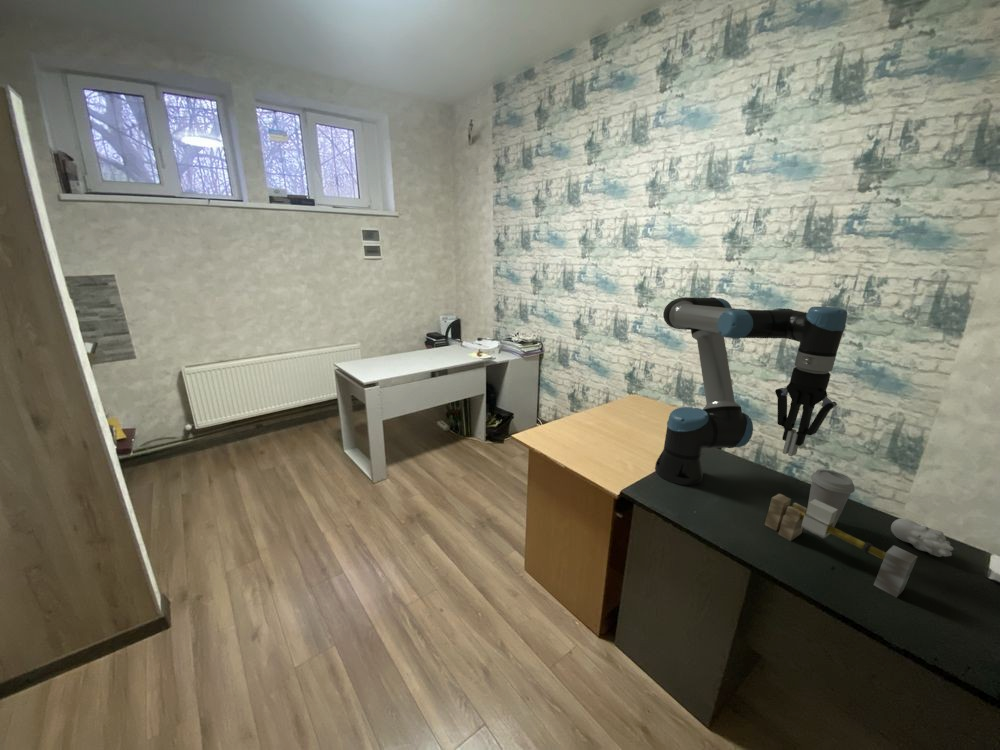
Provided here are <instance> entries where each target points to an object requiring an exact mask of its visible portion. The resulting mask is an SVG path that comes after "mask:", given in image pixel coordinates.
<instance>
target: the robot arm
mask: <svg viewBox="0 0 1000 750" xmlns="http://www.w3.org/2000/svg"><path fill="white" fill-rule="evenodd" d="M662 315H663V321H664V322H665V324H666V325H668V327H670V328H672V329H675V330H676V329H677V330H685V331H687V330H688V331H689V330H690V333H691V338H693V339H694V340H696V342H697V347H698V348H697V350H698V356H699V362H700V368H701V375H702V382H703V390H704V396H705V402H706V404H705V406H704V407H703V408H698V407H693V406H684V407H678V408H675V409H673V410H672V411H671V412H670V413H669V416H668V420H667V422H666V426H667V427H666V432H665V439H664V445H663V449H662V451H661V453H660V454H659V456H658V458H657V460H656V462H655V466H654V470H655V472H656V474H657V475H658V476H659V477H661V479H664V480H666V481H668V482H670V483H673V484H677V485H680V486H681V485H683V486H695V485H698V484H700V483H701V482H702V481H703V476H704V471H703V465H702V459H701V456H702V451H703V449H722V448H723V449H733V448H742V447H745V446H746V445H747V444H748V443H749V442H750V440H751V439H752V437H753V432H754V425H753V420H752V418H751V417H750V416H749V415H748V414H747V413H745V412H743V411H742V406H741V405H740V404H738V403H737V402H736V401H735V395H734V390H733V389H734V388H733V384H732V377H731V370H730V366H729V365H730V364H729V359H728V353H727V347H726V340H725V338H728V339H735V340H736V339H737V340H739V339H784V340H785V339H786V340H791V341H795V342H798V343H799V346H798V348H797V354H796V356H795V357H796V358H795V362H794V366H795V367H794V368H793V369H792V372H791V376H790V382H789V383H788V384H787V385H786V387H780V388H777V389H775V391H774V392H775V394H776V398H777V418H776V419H777V422H776V423H777V425H779V426H781V427H782V428H783V429H784V430H783V433H782V437H781V439H782V441H785V442H784V446H783V448H782V449H783V450H782V454H784V455H787V456H789V457H793V456H795V455H797V452H798V449H799V447H801V446H803V445H804V443H805V439H806V437H807V436H813V435H814V434H816V433H817V432H818V431H819V429H820V427H821V426H822V425H823V422H824V421H825V419H826V417H827V415H828V414H829V413H830V411H831V410H833V409H835V407H836V406H837V405H838V403H837V402H835V401H832V400H831V399H830V398H828V392H827V389H828V386H829V382H830V378H831V372H832V371H833V369H834V364H835V362H836V358H837V355H838V350H839V346H840V343H841V340H842V336H843V334H844V331H845V330H846V323H847V318H848V312H847V310H845V309H844V308H841V307H840V308H839V307H831V306H818V305H817V306H811V307H809V309H808V310H807V312H805V311H802V310H801V311H800V310H795V309H792V308H782V307H781V308H775V309H743V308H733V307H732V305H731V304H730V302H728V301H727V300H726V299H724V298H720V297H718V298H717V297H713V296H711V297H688V296H687V297H685V296H684V297H679V298H676V299H673V300H671V301H670V302H668V304H666V306H665V307H664V310H663V314H662ZM788 395H789V397H790V398H791V402H790V405H789V406H790V408H789V411H788ZM821 402H822V404H821V408H820V409H819V411H818V412H817V414H816V416H815V418H814V419H813V421H812V422H811V419H812V416H813V411H814V408H815V407H816V405H818V404H819V403H821ZM801 406H802V412H801V413H802V414H801V417H800V421H799V426H798V430H797V429H795V428H796V426H795V425H796V421H797V418H798V415H799V412H800V410H801V409H800V408H801Z"/></svg>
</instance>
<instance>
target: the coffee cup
mask: <svg viewBox="0 0 1000 750" xmlns="http://www.w3.org/2000/svg"><path fill="white" fill-rule="evenodd" d="M810 479H811V484H810V489H809V496H808V497H809V498H808V503H807V507H806V508H808V505H809V502H811V501H812V500H814V499H816V500H818V501H820V502H822V503H825V504H827V505H829V506H831V507H833V508H836V509H838V511H837V514H836V517H835V522H834V525H833V527H834V528H836V524H838V520H839V518H840V517H841V515H842V512H843V511H844V508H845V506H846V505H847V504H846V503H848V500H849V498H850V496H851V494H852V493H854V492H855V490H856V489H855V485H854V482H853V480H852V478H850V477H849V476H847V475H846V474H843V473H841V472H839V471H835V470H831V469H825V468H823V469H822V468H821V469H817V470H816V471H815V472H812V474H811V475H810Z"/></svg>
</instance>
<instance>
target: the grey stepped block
mask: <svg viewBox="0 0 1000 750" xmlns="http://www.w3.org/2000/svg"><path fill="white" fill-rule="evenodd" d="M807 507H808V508H807ZM807 507H806V508H807V511H806V513H805V515H804V518H803V522H802V525H801V527H802V528H803V530H806V531H808V532H810V533H812V534H813V535H816V536H818V537H819V538H822V539H825V538H826V537H828V536H829V535H831V534H830V533H828V532H827V529H828V526H829V525H830V526H832V527H833V525H834V522H835V517H836V514H837V511H838V509H836V508H833V507H831V506H829V505H827V504H825V503H822V502H820V501H818V500H816V499H814V500H812V501H811V502H809V505H808V504H807Z"/></svg>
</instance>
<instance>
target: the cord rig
mask: <svg viewBox="0 0 1000 750" xmlns="http://www.w3.org/2000/svg"><path fill="white" fill-rule="evenodd" d="M791 502H792V498H790V497H787V496H786V495H784V494H782V493H777V494H776V495H774V496H772V497H771V500H770V504H769V507H768V511H767V514H766V517H765V522H764V525H765V526H766V527H768V528H770V529H772V530H774V531H775V532H777V531H778V535H779V536H780V537H782V538H784V539H786V540H788V541H790V542H791V541H793V540H794V539H796V538H798V536H800V535H801V534H802V532H803V530H804V528H802V527H801V525H802V522H803V518H804V515H805V513H806V511H807V507H806V506H803V505H802V504H800V503H797V502H793V503H792V506H790V504H791ZM827 532H828V533H830V534H829V535H833V536H834V537H836V538H838V539H840V540H843V541H845V542H846V543H848V544H850V545H853V546H854V547H857V548H859V549H860V550H861V551H862V552H863V553H866V554H867V555H868V554H871V555H873V556H875V557H877V558H879V559H880V560H882V562H881V564H880V568H879V570H878V571H877V572H878V573H877V576H876V578H875V580H874V583H873V586H875V588H878V589H880V590H882V591H883V592H885V593H886V594H889V595H890V596H893V597H894V598H896V599H897V598H898V597H899V596H900V595H901V594H902V592H903V591H904V590H905V588H906V585H907V583H908V580H909V577H910V576H911V573H912V571H913V568H914V566H915V565H916V562H917V559H918V555H916V554H913V553H911V552H909V551H907V550H905V549H903V548H900V547H899V546H896V545H892V546H891V547H890V548H889V549H888V550H887V551H886V552H885V551H884V550H881V549H879V548H877V547H875V546H873V544H872V543H870V542H868V541H864V540H863V541H862V540H861V539H859V538H856V537H854V536H853V535H851V534H849V533H847V532H845V531H842V530H841V529H838V528H836V527H832V526H830V525H829V526H828V529H827Z"/></svg>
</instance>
